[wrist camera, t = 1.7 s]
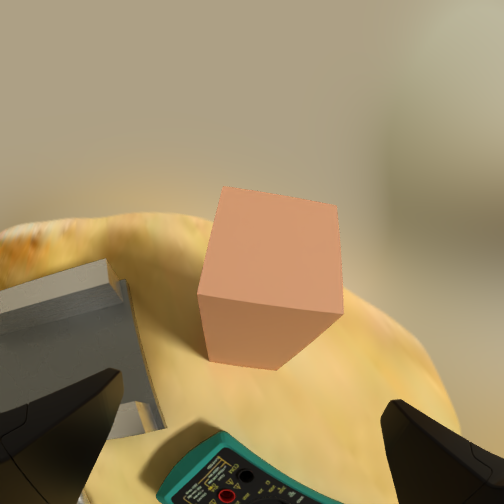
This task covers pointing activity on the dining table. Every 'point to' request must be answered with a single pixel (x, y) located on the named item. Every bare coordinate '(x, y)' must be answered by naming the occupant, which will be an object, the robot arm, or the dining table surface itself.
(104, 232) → the dining table surface
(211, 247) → the terracotta block
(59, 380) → the bench vise
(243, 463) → the digital multimeter
